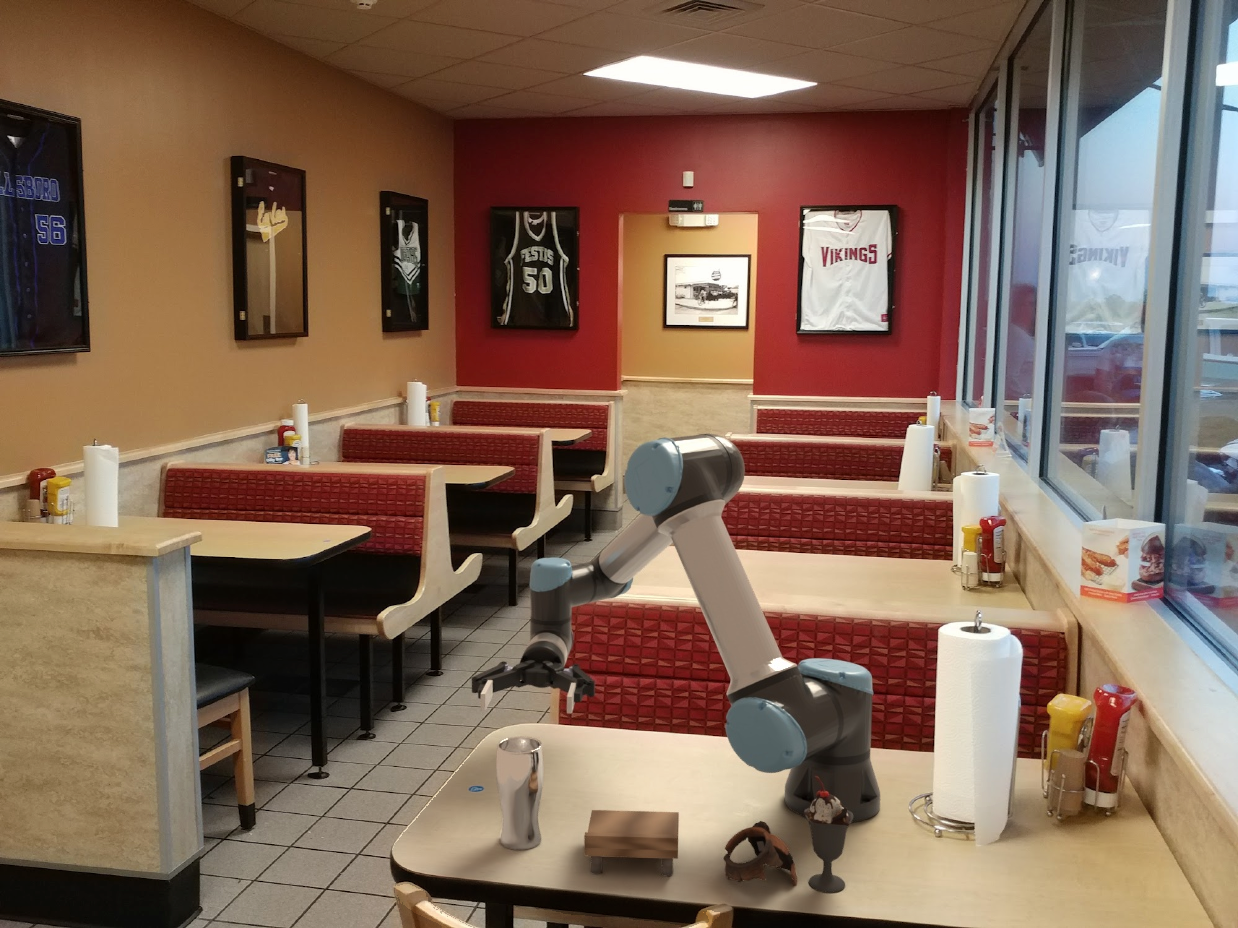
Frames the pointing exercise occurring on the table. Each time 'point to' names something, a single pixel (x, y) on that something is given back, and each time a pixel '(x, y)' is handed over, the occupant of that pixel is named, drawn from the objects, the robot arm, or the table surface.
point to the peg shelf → (632, 837)
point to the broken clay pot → (758, 854)
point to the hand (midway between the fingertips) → (526, 703)
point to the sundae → (827, 837)
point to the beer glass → (520, 790)
